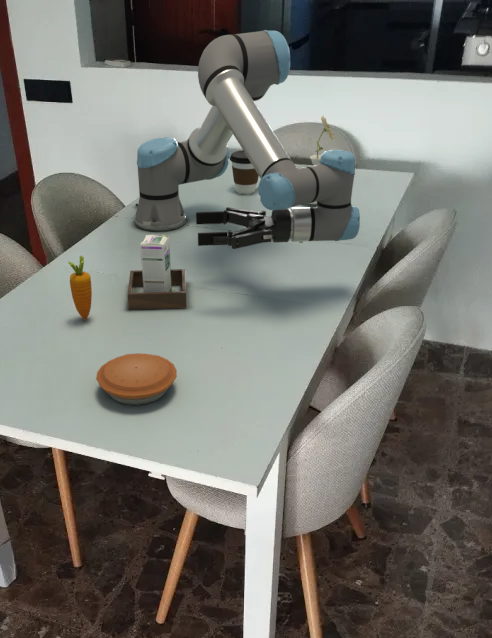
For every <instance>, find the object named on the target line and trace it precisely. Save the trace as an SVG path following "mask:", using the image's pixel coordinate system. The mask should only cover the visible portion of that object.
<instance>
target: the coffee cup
mask: <svg viewBox="0 0 492 638" xmlns="http://www.w3.org/2000/svg"><path fill="white" fill-rule="evenodd" d="M230 154H231V155H229V161H230V162H231V170H232V176H233V183H234V188H235V191H236V193H238V194H240V195H251V194H254V193H255V192H256V190H257V184H258V183H259V182H258V181H259V178H260V177H259V175H258V173H257V172H256V170H255V168H254V167H253V165H252V164H251V162H250V160H249V159H248V157H247V156H246V154H245V152H244V151H243V149H242V150H236V151H234V152H233V151H232V153H230Z"/></svg>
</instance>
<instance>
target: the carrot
mask: <svg viewBox="0 0 492 638" xmlns="http://www.w3.org/2000/svg"><path fill="white" fill-rule="evenodd" d="M84 259H85V257H84V256H83V255H80V256H79V265H78V264H74V263H73V262H71V261H68V262H67V263H68V264H69V266H70V267H71V268H72V270H73V271H74V272H73V273H71V274H70V275H69V285H70V293H71V297H72V300H73V303H74V307H75V309H76V312H77V313H78V314H79V316H80V317H81V319H82V320H84V321H87V319H88V318H89V315H90V313H91V308H92V299H93V290H92V278H91V274H90V273H88V272H85V271H84V265H85V262H84V261H85V260H84Z"/></svg>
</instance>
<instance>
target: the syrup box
mask: <svg viewBox="0 0 492 638" xmlns="http://www.w3.org/2000/svg"><path fill="white" fill-rule="evenodd" d="M139 249H140V261H141V270H142V275H143V286H142V287H143V293H147V292H173V286H172V283H171V269H172V268H171V253H170V252H171V249H170V236H169V235H162V234H146V235H145V237H144V238H143V240H141V242H140V244H139Z"/></svg>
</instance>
